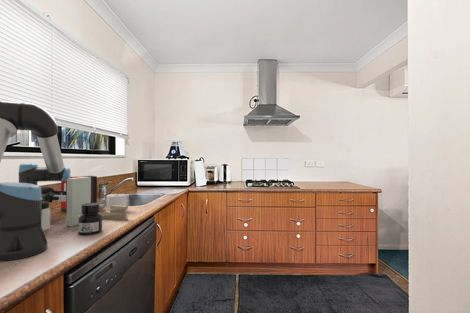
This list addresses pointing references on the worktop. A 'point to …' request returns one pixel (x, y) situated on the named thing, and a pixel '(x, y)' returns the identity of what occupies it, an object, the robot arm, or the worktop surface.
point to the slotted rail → (114, 212)
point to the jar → (45, 215)
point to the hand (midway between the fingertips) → (77, 196)
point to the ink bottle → (90, 219)
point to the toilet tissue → (115, 200)
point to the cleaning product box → (93, 191)
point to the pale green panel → (77, 197)
